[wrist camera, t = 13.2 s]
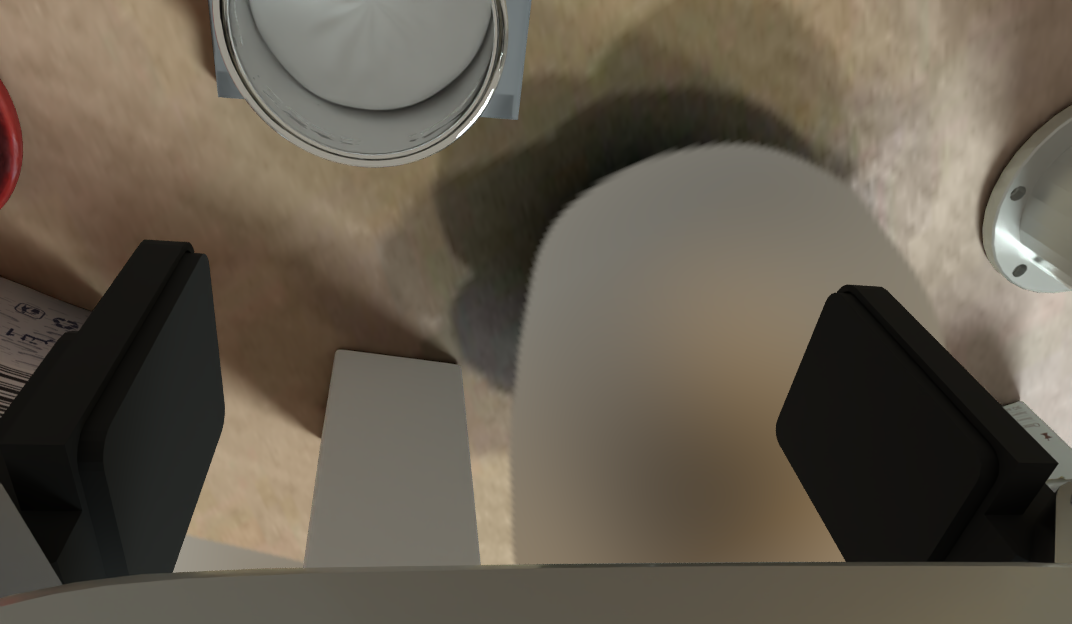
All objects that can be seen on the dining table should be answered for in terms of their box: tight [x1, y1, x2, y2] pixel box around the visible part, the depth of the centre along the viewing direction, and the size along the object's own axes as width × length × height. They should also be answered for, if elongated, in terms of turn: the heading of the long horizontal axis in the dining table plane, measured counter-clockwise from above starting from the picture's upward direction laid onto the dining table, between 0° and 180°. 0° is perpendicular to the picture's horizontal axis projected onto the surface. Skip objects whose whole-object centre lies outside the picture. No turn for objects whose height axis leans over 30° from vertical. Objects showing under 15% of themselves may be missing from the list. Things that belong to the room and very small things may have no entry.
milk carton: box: [303, 350, 481, 568], centre depth 36 cm, size 7×7×19 cm
